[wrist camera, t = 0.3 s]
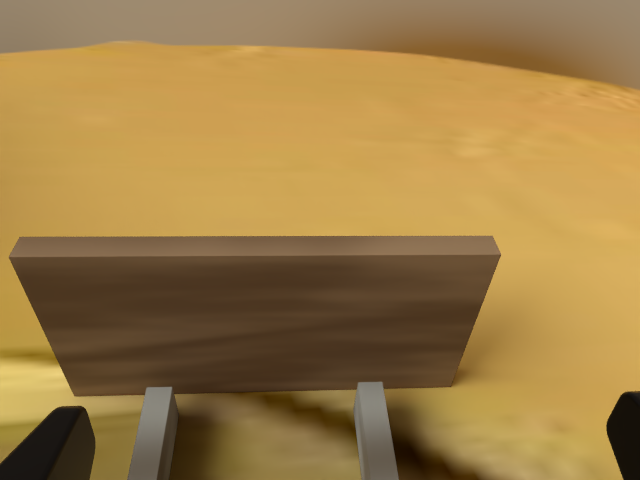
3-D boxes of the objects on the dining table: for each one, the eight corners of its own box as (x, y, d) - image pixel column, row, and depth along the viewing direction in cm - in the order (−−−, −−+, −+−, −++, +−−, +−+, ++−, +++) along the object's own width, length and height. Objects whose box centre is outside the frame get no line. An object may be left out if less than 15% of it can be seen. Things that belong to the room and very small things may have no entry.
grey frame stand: (521, 642, 21) (637, 551, 14) (-17, 677, 19) (-176, 593, 12) (445, 368, 30) (492, 235, 23) (80, 376, 28) (20, 236, 22)
